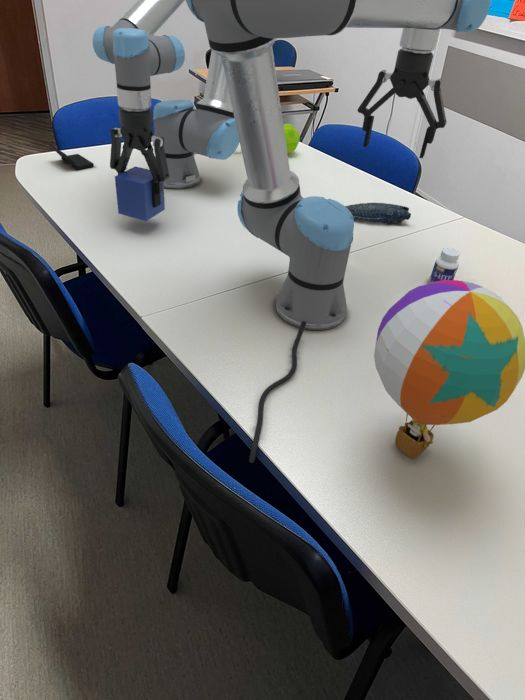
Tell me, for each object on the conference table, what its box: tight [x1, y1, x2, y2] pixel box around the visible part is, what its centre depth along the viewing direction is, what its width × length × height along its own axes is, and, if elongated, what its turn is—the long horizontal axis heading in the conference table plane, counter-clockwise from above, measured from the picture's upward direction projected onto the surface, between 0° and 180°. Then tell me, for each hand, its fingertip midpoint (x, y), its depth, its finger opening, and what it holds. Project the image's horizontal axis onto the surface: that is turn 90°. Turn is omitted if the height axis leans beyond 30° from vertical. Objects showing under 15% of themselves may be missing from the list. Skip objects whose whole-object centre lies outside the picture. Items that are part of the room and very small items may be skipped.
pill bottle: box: [428, 247, 461, 284], centre depth 123 cm, size 5×5×9 cm
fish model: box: [344, 202, 412, 225], centre depth 150 cm, size 7×21×5 cm, turn 84°
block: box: [114, 166, 166, 222], centre depth 132 cm, size 8×9×10 cm
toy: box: [373, 279, 525, 460], centre depth 74 cm, size 20×20×30 cm
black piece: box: [49, 143, 95, 171], centre depth 167 cm, size 12×7×10 cm
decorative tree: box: [283, 123, 301, 155], centre depth 187 cm, size 18×10×30 cm
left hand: (141, 201), depth 134 cm, fingers closed on block, 8 cm apart
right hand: (393, 151), depth 124 cm, fingers open, 13 cm apart
